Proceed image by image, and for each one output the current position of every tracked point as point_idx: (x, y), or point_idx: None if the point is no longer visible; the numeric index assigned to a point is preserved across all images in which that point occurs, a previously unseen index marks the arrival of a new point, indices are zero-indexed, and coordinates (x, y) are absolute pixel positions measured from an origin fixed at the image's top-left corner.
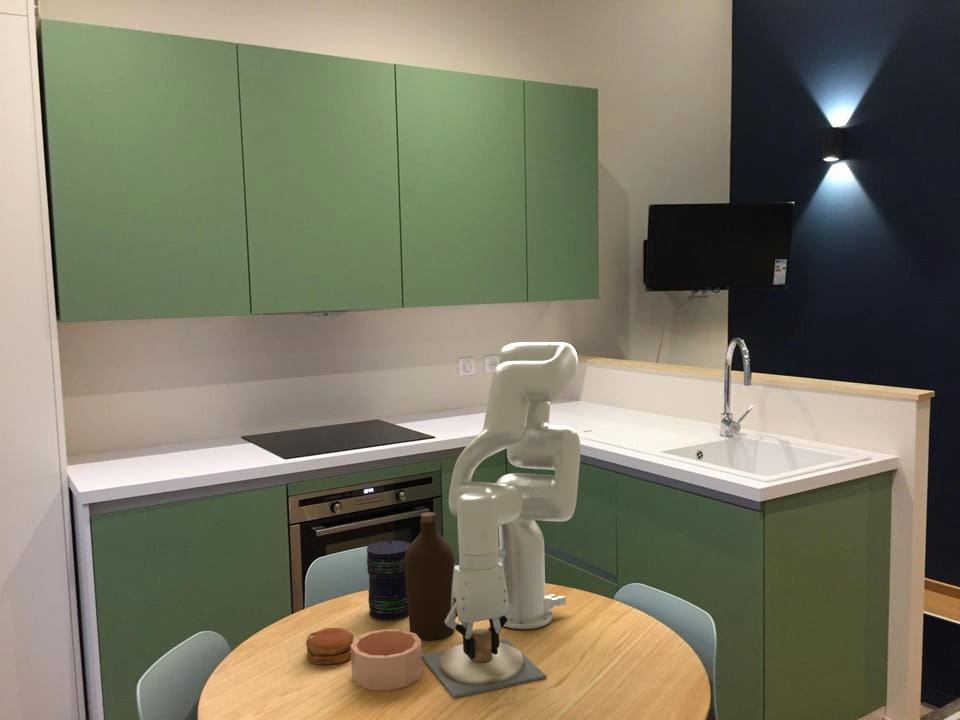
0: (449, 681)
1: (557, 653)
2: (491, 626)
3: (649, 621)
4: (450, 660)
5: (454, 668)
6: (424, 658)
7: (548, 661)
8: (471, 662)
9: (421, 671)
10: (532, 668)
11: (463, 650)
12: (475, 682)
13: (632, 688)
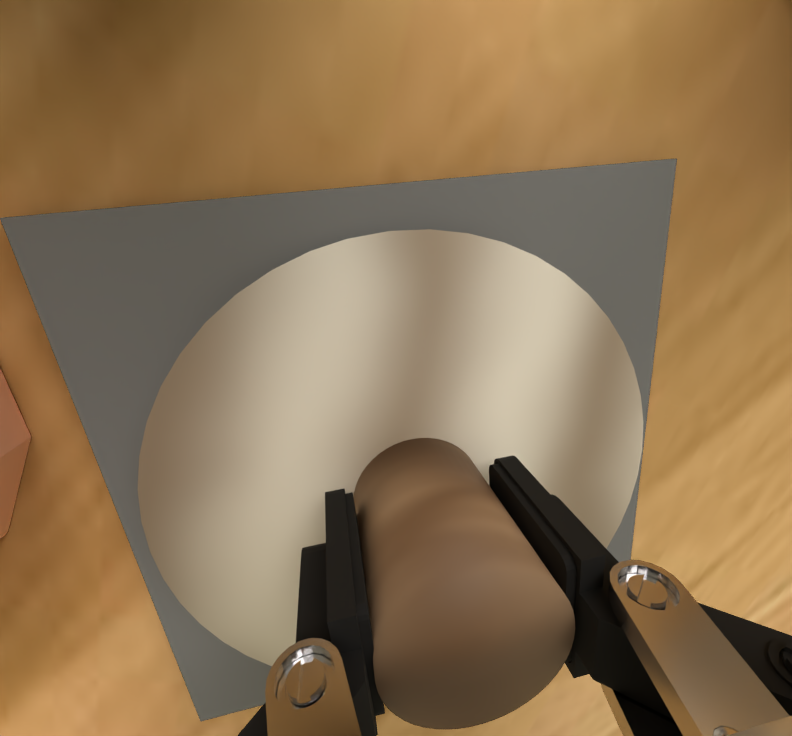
0: None
1: (777, 406)
2: (617, 641)
3: None
4: (216, 481)
5: (228, 582)
6: (31, 292)
7: (702, 470)
8: None
9: (19, 460)
10: (609, 550)
11: (302, 549)
12: None
13: None
